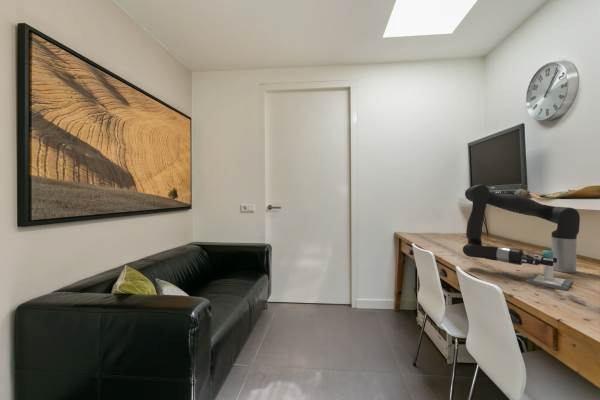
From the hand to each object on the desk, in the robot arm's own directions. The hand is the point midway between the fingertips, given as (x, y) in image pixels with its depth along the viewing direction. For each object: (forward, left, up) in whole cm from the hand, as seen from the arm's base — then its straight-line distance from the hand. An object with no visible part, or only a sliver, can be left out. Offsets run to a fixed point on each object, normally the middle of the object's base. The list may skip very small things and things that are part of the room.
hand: (555, 262), depth 117 cm
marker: (0, -2, -8) cm, 9 cm away
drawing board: (0, -2, -10) cm, 10 cm away
